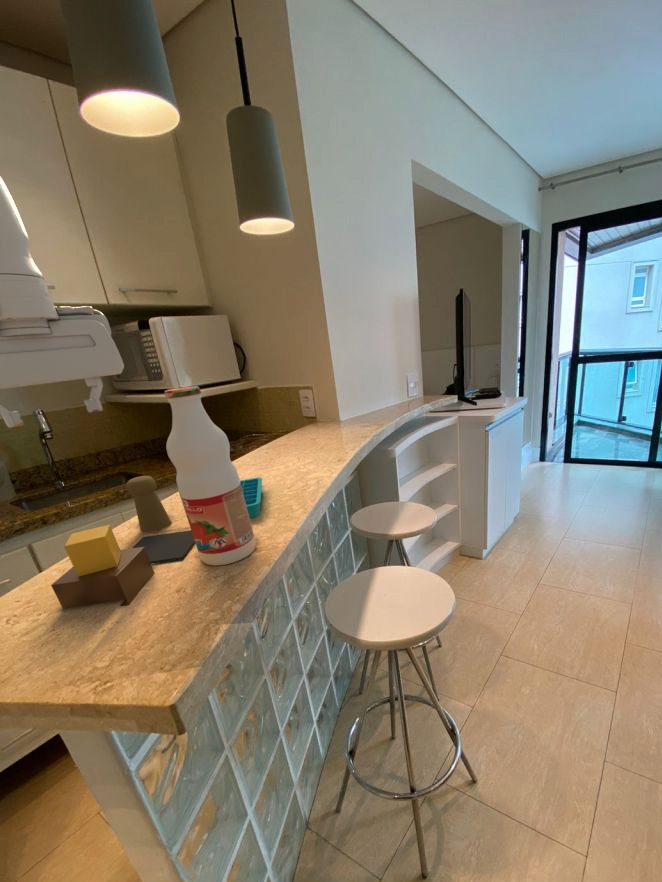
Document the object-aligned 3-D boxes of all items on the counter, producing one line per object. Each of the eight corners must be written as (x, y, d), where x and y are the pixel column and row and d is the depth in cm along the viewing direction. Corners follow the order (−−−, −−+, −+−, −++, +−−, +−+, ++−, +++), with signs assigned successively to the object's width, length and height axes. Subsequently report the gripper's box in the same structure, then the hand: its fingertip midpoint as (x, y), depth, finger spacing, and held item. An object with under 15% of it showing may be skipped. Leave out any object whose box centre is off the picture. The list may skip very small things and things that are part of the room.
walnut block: (65, 614, 59) (50, 585, 57) (99, 580, 67) (87, 554, 65) (128, 605, 59) (116, 575, 57) (154, 572, 68) (144, 546, 66)
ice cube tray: (264, 487, 104) (261, 476, 102) (263, 517, 85) (260, 503, 84) (216, 496, 101) (213, 485, 100) (205, 528, 83) (201, 514, 82)
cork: (159, 532, 84) (141, 481, 79) (134, 533, 85) (114, 483, 81) (177, 519, 89) (161, 472, 85) (153, 520, 90) (136, 473, 86)
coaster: (113, 569, 70) (112, 567, 70) (143, 538, 82) (143, 536, 81) (183, 559, 71) (182, 557, 71) (204, 530, 82) (203, 528, 82)
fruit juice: (266, 550, 71) (224, 383, 60) (212, 573, 65) (156, 394, 54) (243, 535, 78) (202, 383, 67) (193, 555, 72) (139, 392, 61)
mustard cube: (78, 577, 58) (63, 546, 56) (84, 562, 63) (71, 533, 61) (117, 566, 60) (104, 536, 58) (121, 552, 64) (109, 524, 62)
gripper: (94, 308, 60) (127, 404, 65) (-108, 312, 46) (-44, 434, 51) (111, 302, 56) (144, 404, 62) (-103, 305, 42) (-35, 437, 47)
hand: (58, 418), depth 56 cm, fingers open, 8 cm apart
